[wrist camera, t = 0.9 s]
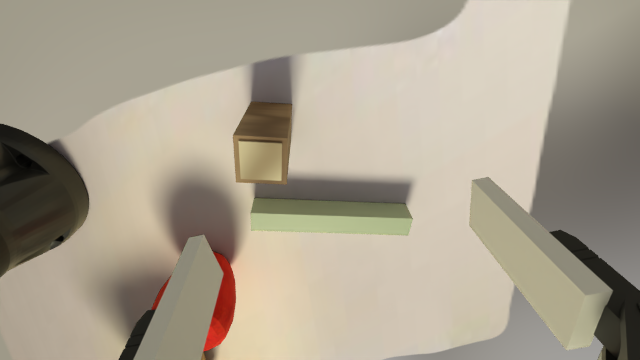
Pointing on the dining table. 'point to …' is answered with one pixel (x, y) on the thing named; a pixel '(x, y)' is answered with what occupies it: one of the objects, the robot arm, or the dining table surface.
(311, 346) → the dining table surface
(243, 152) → the walnut block
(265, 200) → the rail
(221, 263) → the apple
